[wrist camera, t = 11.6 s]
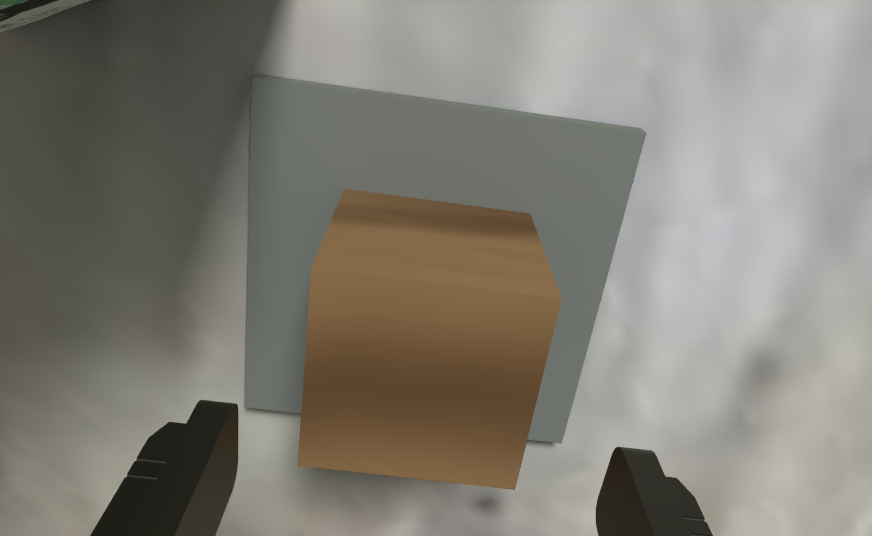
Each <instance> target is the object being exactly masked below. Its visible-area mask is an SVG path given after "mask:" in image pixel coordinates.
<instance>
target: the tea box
mask: <svg viewBox="0 0 872 536" xmlns="http://www.w3.org/2000/svg"><path fill="white" fill-rule="evenodd" d="M88 1H91V0H0V32H3V31H7V30H10V29H14V28H17V27H20V26H23V25H26V24H29V23H32V22H35V21H37V20H40V19H43V18H46V17H49V16H51V15H54V14H56V13H59V12H61V11H64V10H66V9H69V8H72V7H74V6H77V5H80V4H83V3H85V2H88Z"/></svg>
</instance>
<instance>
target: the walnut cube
mask: <svg viewBox="0 0 872 536" xmlns="http://www.w3.org/2000/svg"><path fill="white" fill-rule="evenodd" d="M561 300H562V298H561V295H560V292H559V290H558V287H557V284H556V282H555V279H554V276H553V274H552V271H551V268H550V265H549V263H548V260H547V257H546V255H545V252H544V249H543V247H542V244H541V241H540V239H539V236H538V233H537V230H536V228H535V225H534V222H533V220H532V217H531V214H530V213H523V212H515V211H508V210H500V209H493V208H485V207H478V206H471V205H463V204H456V203H448V202H441V201H433V200H426V199H418V198H411V197H403V196H396V195H389V194H381V193H374V192H366V191H359V190H351V189H344V191H343V193H342V195H341V198H340V200H339V203H338V205H337V207H336V210H335V212H334V214H333V217H332V219H331V221H330V224H329V226H328V228H327V231H326V233H325V235H324V238H323V240H322V242H321V245H320V247H319V250H318V252H317V254H316V257H315V259H314V261H313V264H312V266H311V276H310V291H309V306H308V321H307V336H306V351H305V366H304V381H303V396H302V411H301V426H300V441H299V456H298V466H306V467H315V468H324V469H333V470H342V471H351V472H360V473H369V474H378V475H387V476H396V477H405V478H414V479H423V480H432V481H441V482H450V483H459V484H468V485H477V486H486V487H495V488H504V489H513V490H515V487H516V483H517V479H518V475H519V471H520V467H521V463H522V459H523V455H524V451H525V447H526V442H527V438H528V434H529V430H530V426H531V422H532V418H533V414H534V410H535V406H536V402H537V398H538V394H539V390H540V386H541V382H542V377H543V373H544V369H545V365H546V361H547V357H548V353H549V349H550V345H551V341H552V337H553V333H554V329H555V325H556V321H557V317H558V313H559V308H560V304H561Z"/></svg>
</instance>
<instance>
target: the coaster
mask: <svg viewBox="0 0 872 536" xmlns="http://www.w3.org/2000/svg"><path fill="white" fill-rule="evenodd" d="M645 136H646V132H644V131H643V130H642V129H641V128H634V127H626V126H619V125H612V124H605V123H598V122H591V121H584V120H577V119H570V118H563V117H556V116H548V115H541V114H534V113H527V112H520V111H513V110H506V109H499V108H492V107H485V106H478V105H471V104H463V103H456V102H449V101H442V100H435V99H428V98H421V97H414V96H407V95H400V94H393V93H385V92H378V91H371V90H364V89H357V88H350V87H343V86H336V85H329V84H322V83H315V82H308V81H300V80H293V79H286V78H279V77H272V76H265V75H258V74H256V75H254V76H253V77H251V118H250V166H249V214H248V262H247V310H246V357H245V405H244V407H246V408H255V409H264V410H273V411H281V412H290V413H299V414H301V411H302V396H303V381H304V366H305V351H306V336H307V321H308V306H309V291H310V276H311V266H312V264H313V261H314V259H315V257H316V254H317V252H318V250H319V247H320V245H321V242H322V240H323V238H324V235H325V233H326V231H327V228H328V226H329V224H330V221H331V219H332V217H333V214H334V212H335V210H336V207H337V205H338V203H339V200H340V198H341V195H342V193H343V191H344V189H351V190H359V191H366V192H374V193H381V194H389V195H396V196H403V197H411V198H418V199H426V200H433V201H441V202H448V203H456V204H463V205H471V206H478V207H485V208H493V209H500V210H508V211H515V212H523V213H530V214H531V217H532V220H533V222H534V225H535V228H536V230H537V233H538V236H539V239H540V241H541V244H542V247H543V249H544V252H545V255H546V257H547V260H548V263H549V265H550V268H551V271H552V274H553V276H554V279H555V282H556V284H557V287H558V290H559V292H560V295H561V298H562V300H561V304H560V308H559V313H558V317H557V321H556V325H555V329H554V333H553V337H552V341H551V345H550V349H549V353H548V357H547V361H546V365H545V369H544V373H543V377H542V382H541V386H540V390H539V394H538V398H537V402H536V406H535V410H534V414H533V418H532V422H531V426H530V430H529V434H528V438H527V440H536V441H544V442H553V443H562V440H563V436H564V433H565V429H566V425H567V422H568V418H569V414H570V411H571V407H572V403H573V400H574V396H575V392H576V389H577V385H578V381H579V378H580V374H581V370H582V367H583V363H584V359H585V356H586V352H587V348H588V345H589V341H590V337H591V334H592V330H593V326H594V323H595V319H596V315H597V312H598V308H599V304H600V301H601V297H602V293H603V290H604V286H605V282H606V279H607V275H608V271H609V268H610V264H611V260H612V257H613V253H614V249H615V246H616V242H617V238H618V235H619V231H620V227H621V224H622V220H623V216H624V213H625V209H626V205H627V202H628V198H629V194H630V191H631V187H632V183H633V180H634V176H635V172H636V169H637V165H638V161H639V158H640V154H641V150H642V147H643V143H644V139H645Z"/></svg>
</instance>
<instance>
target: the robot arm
mask: <svg viewBox="0 0 872 536" xmlns="http://www.w3.org/2000/svg"><path fill="white" fill-rule="evenodd" d="M237 466H238V406H237V404H234V403H225V402H216V401H207V400H200V401H199V402H198V403H197V405H196V407H195V408H194V410H193V412H192V414H191V416H190V418H189V420H188V422H187V423H186V424H183V423H174V422H168V423H167V424H166V425H165V426H163V427H162V428H161V429H159V430H158V431H157V432H156V433H154V434H153V435H152V436H150V437H149V438H148V440H147V441H146V443H145V445H144V446H143V448H142V450H141V452H140V453H139V455H138V457H137V460H136V461H135V462H134V463H133V465H132V467H131V468H130V470H129V472H128V473H127V477H126V478H124V480H123V482H122V483H121V485H120V487H119V488H118V490H117V492H116V493H115V495H114V497H113V498H112V500H111V502H110V503H109V505H108V507H107V509H106V510H105V512H104V514H103V515H102V517H101V519H100V520H99V522H98V524H97V525H96V527H95V529H94V530H93V532H92V534H91V535H90V536H215V535H216V532H217V529H218V527H219V524H220V522H221V519H222V516H223V514H224V511H225V508H226V506H227V503H228V501H229V498H230V495H231V493H232V490H233V487H234V483H235V478H236V473H237ZM596 526H597V531H598V535H599V536H713V535H712V533H711V531H710V529H709V527H708V524H707V522H704V516H703V514H702V512H701V510H700V507H699V505H698V503H697V501H696V499H695V497H694V496H693V495H692V494H691V493H690V492H689V491H688V490H687V489H686V487H685V486H684V485H683V484H682V483H681V482H680V481H679V480H678V479H677V478H672V477H665V475H664V473H663V470H662V468H661V466H660V463H659V461H658V459H657V456H656V455H655V453H654V452H653V451H651V450H642V449H633V448H624V447H617V448H615V450H614V451H613V453H612V456H611V459H610V462H609V465H608V469H607V472H606V475H605V478H604V481H603V484H602V487H601V490H600V493H599V496H598V500H597V505H596Z"/></svg>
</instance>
